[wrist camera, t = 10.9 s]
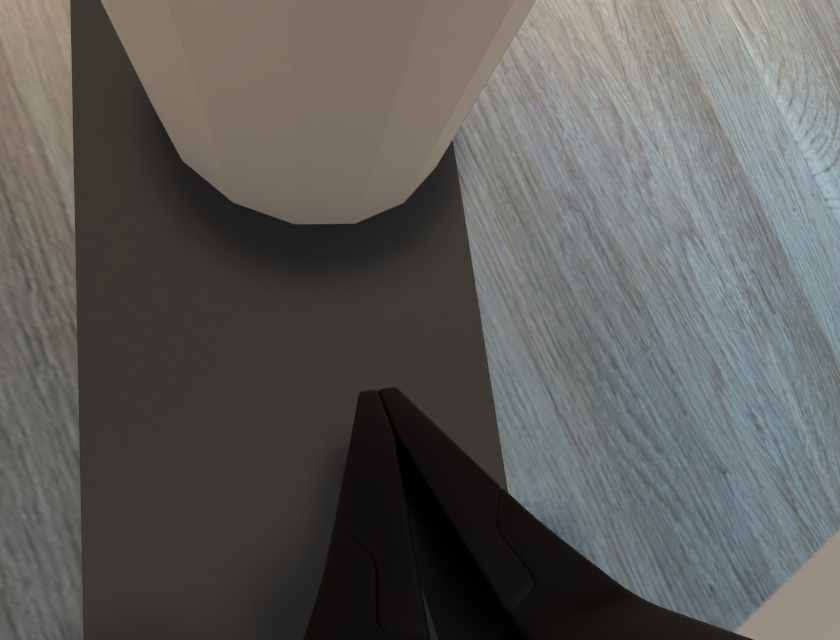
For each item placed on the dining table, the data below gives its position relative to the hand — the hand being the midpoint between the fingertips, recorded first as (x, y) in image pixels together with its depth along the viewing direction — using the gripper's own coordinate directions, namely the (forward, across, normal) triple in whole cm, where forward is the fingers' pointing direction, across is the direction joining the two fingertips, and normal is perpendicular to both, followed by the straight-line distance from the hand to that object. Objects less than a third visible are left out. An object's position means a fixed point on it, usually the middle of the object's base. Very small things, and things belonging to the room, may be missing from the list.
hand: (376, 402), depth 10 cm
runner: (+8, +1, +4) cm, 9 cm away
